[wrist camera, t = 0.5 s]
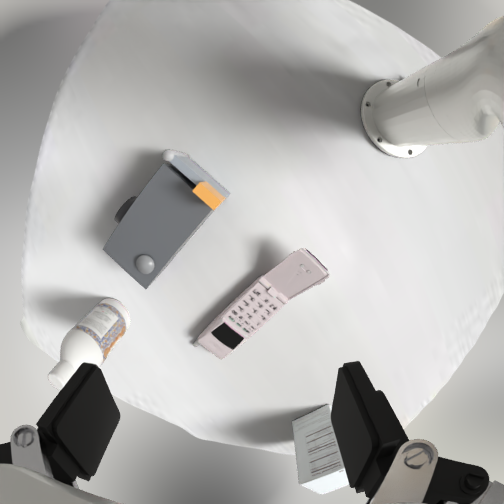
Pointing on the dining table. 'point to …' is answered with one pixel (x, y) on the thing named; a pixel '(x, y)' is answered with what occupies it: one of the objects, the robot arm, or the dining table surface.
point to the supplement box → (318, 452)
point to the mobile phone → (261, 302)
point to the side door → (198, 178)
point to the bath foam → (91, 340)
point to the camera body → (156, 224)
